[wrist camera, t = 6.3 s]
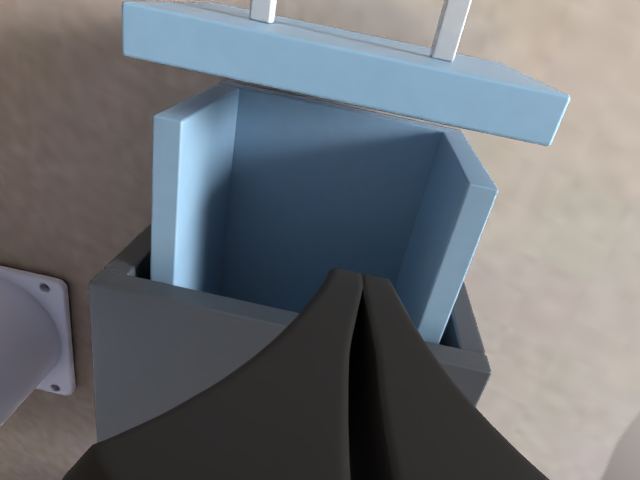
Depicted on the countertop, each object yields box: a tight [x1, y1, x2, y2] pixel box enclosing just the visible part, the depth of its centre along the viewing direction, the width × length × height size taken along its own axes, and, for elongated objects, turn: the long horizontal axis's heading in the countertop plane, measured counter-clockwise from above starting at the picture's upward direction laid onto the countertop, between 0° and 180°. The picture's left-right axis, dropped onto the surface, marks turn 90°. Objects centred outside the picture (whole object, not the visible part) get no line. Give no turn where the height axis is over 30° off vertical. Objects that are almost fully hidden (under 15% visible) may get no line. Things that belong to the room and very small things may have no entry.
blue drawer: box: [122, 0, 570, 344], centre depth 15 cm, size 17×10×7 cm, turn 169°
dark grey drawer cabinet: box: [89, 224, 491, 443], centre depth 20 cm, size 14×12×9 cm
